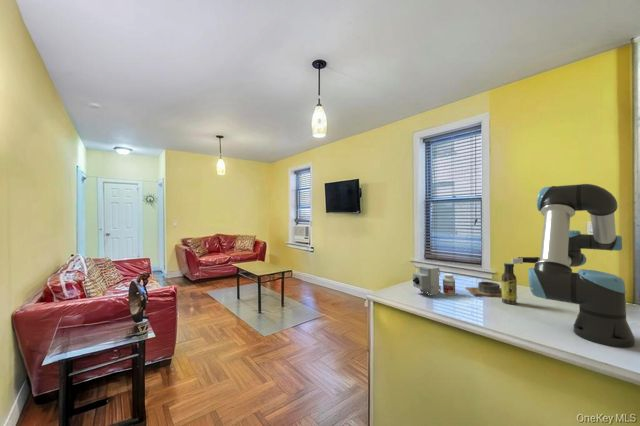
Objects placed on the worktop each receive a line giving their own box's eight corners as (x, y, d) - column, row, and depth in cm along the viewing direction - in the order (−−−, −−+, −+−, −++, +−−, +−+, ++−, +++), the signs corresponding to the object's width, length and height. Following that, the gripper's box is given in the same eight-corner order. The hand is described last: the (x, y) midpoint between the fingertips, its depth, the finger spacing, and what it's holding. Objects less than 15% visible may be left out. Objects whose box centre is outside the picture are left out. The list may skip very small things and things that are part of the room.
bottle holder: (502, 290, 157) (502, 281, 157) (515, 297, 143) (515, 287, 143) (465, 289, 160) (465, 280, 160) (474, 296, 146) (474, 286, 146)
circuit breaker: (411, 293, 154) (410, 267, 155) (431, 290, 159) (430, 265, 159) (419, 296, 147) (418, 269, 147) (440, 294, 152) (440, 267, 152)
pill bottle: (447, 291, 156) (447, 272, 156) (457, 294, 150) (457, 274, 150) (440, 293, 153) (440, 274, 153) (450, 296, 147) (450, 276, 147)
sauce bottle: (511, 305, 131) (509, 264, 131) (498, 301, 137) (497, 262, 137) (520, 303, 133) (519, 263, 133) (507, 300, 139) (506, 261, 139)
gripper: (585, 272, 129) (549, 276, 125) (534, 263, 154) (503, 266, 149) (584, 257, 129) (549, 260, 125) (533, 250, 154) (502, 252, 149)
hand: (524, 263), depth 137 cm, fingers open, 13 cm apart
